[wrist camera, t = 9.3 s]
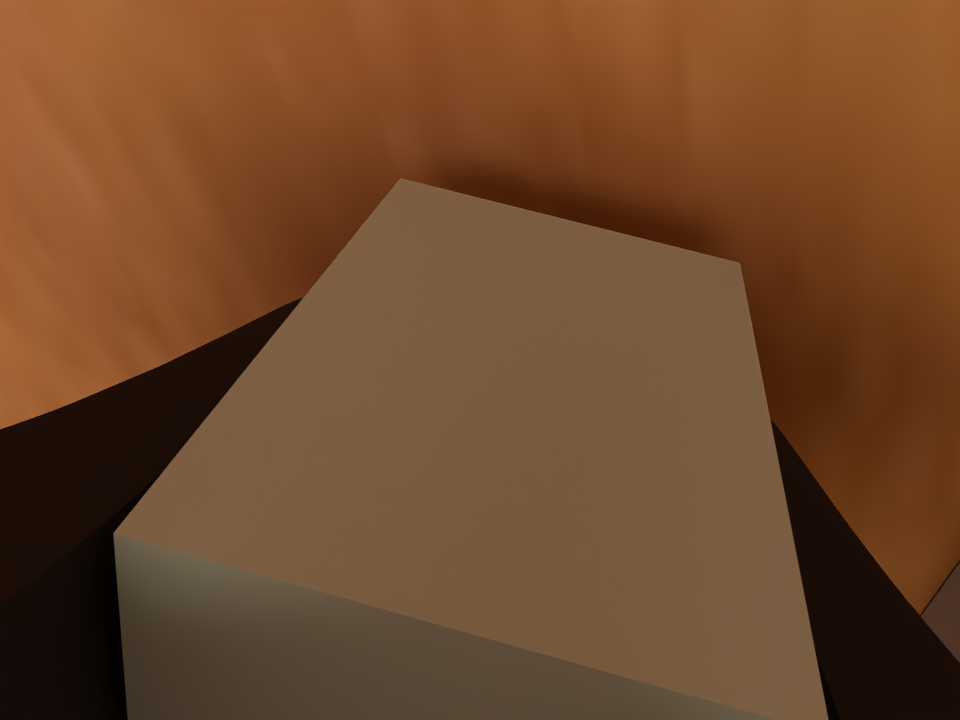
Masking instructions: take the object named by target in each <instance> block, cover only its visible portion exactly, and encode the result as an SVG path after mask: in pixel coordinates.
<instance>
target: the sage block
mask: <svg viewBox="0 0 960 720" xmlns="http://www.w3.org/2000/svg"><path fill="white" fill-rule="evenodd" d="M113 536H114V549H115V562H116V575H117V588H118V600H119V613H120V626H121V639H122V652H123V664H124V677H125V690H126V703H127V716H128V720H828V715H827V710H826V705H825V699H824V694H823V689H822V684H821V679H820V673H819V668H818V663H817V658H816V653H815V648H814V642H813V637H812V632H811V627H810V622H809V617H808V611H807V606H806V601H805V596H804V591H803V586H802V580H801V575H800V570H799V565H798V560H797V555H796V549H795V544H794V539H793V534H792V529H791V524H790V518H789V513H788V508H787V503H786V498H785V493H784V487H783V482H782V477H781V472H780V467H779V462H778V456H777V451H776V446H775V441H774V436H773V431H772V425H771V420H770V415H769V410H768V405H767V400H766V394H765V389H764V384H763V379H762V374H761V369H760V363H759V358H758V353H757V348H756V343H755V338H754V332H753V327H752V322H751V317H750V312H749V307H748V301H747V296H746V291H745V286H744V281H743V275H742V270H741V265H740V263H739V262H735V261H731V260H727V259H723V258H719V257H715V256H711V255H707V254H703V253H699V252H695V251H691V250H687V249H683V248H679V247H675V246H671V245H667V244H663V243H659V242H655V241H651V240H647V239H643V238H639V237H635V236H631V235H627V234H623V233H619V232H615V231H611V230H607V229H603V228H599V227H595V226H591V225H587V224H583V223H579V222H575V221H571V220H567V219H563V218H559V217H555V216H551V215H547V214H543V213H539V212H535V211H530V210H526V209H522V208H518V207H514V206H510V205H506V204H502V203H498V202H494V201H490V200H486V199H482V198H478V197H474V196H470V195H466V194H462V193H458V192H454V191H450V190H446V189H442V188H438V187H434V186H430V185H426V184H422V183H418V182H414V181H410V180H406V179H402V178H400V179H399V180H398V181H397V183H396V184H395V185H394V186H393V188H392V189H391V190H390V191H389V192H388V194H387V195H386V196H385V197H384V199H383V200H382V201H381V202H380V204H379V205H378V206H377V207H376V209H375V210H374V211H373V212H372V214H371V215H370V216H369V217H368V218H367V220H366V221H365V222H364V223H363V225H362V226H361V227H360V228H359V230H358V231H357V232H356V233H355V235H354V236H353V237H352V238H351V240H350V241H349V242H348V243H347V245H346V246H345V247H344V248H343V249H342V251H341V252H340V253H339V254H338V256H337V257H336V258H335V259H334V261H333V262H332V263H331V264H330V266H329V267H328V268H327V269H326V271H325V272H324V273H323V274H322V275H321V277H320V278H319V279H318V280H317V282H316V283H315V284H314V285H313V287H312V288H311V289H310V290H309V292H308V293H307V294H306V295H305V297H304V298H303V299H302V300H301V301H300V303H299V304H298V305H297V306H296V308H295V309H294V310H293V311H292V313H291V314H290V315H289V316H288V318H287V319H286V320H285V321H284V323H283V324H282V325H281V326H280V328H279V329H278V330H277V331H276V332H275V334H274V335H273V336H272V337H271V339H270V340H269V341H268V342H267V344H266V345H265V346H264V347H263V349H262V350H261V351H260V352H259V354H258V355H257V356H256V357H255V358H254V360H253V361H252V362H251V363H250V365H249V366H248V367H247V368H246V370H245V371H244V372H243V373H242V375H241V376H240V377H239V378H238V380H237V381H236V382H235V383H234V385H233V386H232V387H231V388H230V389H229V391H228V392H227V393H226V394H225V396H224V397H223V398H222V399H221V401H220V402H219V403H218V404H217V406H216V407H215V408H214V409H213V411H212V412H211V413H210V414H209V415H208V417H207V418H206V419H205V420H204V422H203V423H202V424H201V425H200V427H199V428H198V429H197V430H196V432H195V433H194V434H193V435H192V437H191V438H190V439H189V440H188V442H187V443H186V444H185V445H184V446H183V448H182V449H181V450H180V451H179V453H178V454H177V455H176V456H175V458H174V459H173V460H172V461H171V463H170V464H169V465H168V466H167V468H166V469H165V470H164V471H163V472H162V474H161V475H160V476H159V477H158V479H157V480H156V481H155V482H154V484H153V485H152V486H151V487H150V489H149V490H148V491H147V492H146V494H145V495H144V496H143V497H142V499H141V500H140V501H139V502H138V503H137V505H136V506H135V507H134V508H133V510H132V511H131V512H130V513H129V515H128V516H127V517H126V518H125V520H124V521H123V522H122V523H121V525H120V526H119V527H118V528H117V529H116V531H115V532H114V533H113Z"/></svg>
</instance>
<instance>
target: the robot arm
mask: <svg viewBox="0 0 960 720" xmlns="http://www.w3.org/2000/svg"><path fill="white" fill-rule="evenodd" d="M302 299H303V298H300V299H298V300H296V301H293V302H291V303H289V304H286V305H284V306H282V307H280V308H278V309H276V310H274V311H272V312H270V313H268V314H266V315H264V316H262V317H260V318H258V319H256V320H254V321H252V322H250V323H248V324H246V325H244V326H242V327H240V328H238V329H236V330H234V331H232V332H230V333H228V334H226V335H224V336H222V337H220V338H218V339H216V340H213V341H211V342H209V343H207V344H205V345H203V346H201V347H199V348H197V349H195V350H193V351H191V352H188V353H186V354H184V355H182V356H180V357H178V358H176V359H174V360H172V361H170V362H168V363H166V364H163V365H161V366H159V367H157V368H154V369H152V370H150V371H147V372H145V373H143V374H140V375H138V376H135V377H133V378H131V379H128V380H126V381H124V382H121V383H119V384H117V385H114V386H112V387H109V388H107V389H105V390H102V391H100V392H98V393H95V394H93V395H91V396H88V397H86V398H83V399H81V400H79V401H76V402H74V403H72V404H69V405H67V406H64V407H61V408H59V409H56V410H53V411H51V412H48V413H46V414H43V415H40V416H37V417H35V418H32V419H29V420H26V421H23V422H21V423H18V424H15V425H12V426H9V427H6V428H3V429H0V720H128V716H127V703H126V690H125V677H124V664H123V652H122V639H121V626H120V613H119V600H118V588H117V575H116V562H115V549H114V536H113V533H114V532H115V531H116V529H117V528H118V527H119V526H120V525H121V523H122V522H123V521H124V520H125V518H126V517H127V516H128V515H129V513H130V512H131V511H132V510H133V508H134V507H135V506H136V505H137V503H138V502H139V501H140V500H141V499H142V497H143V496H144V495H145V494H146V492H147V491H148V490H149V489H150V487H151V486H152V485H153V484H154V482H155V481H156V480H157V479H158V477H159V476H160V475H161V474H162V472H163V471H164V470H165V469H166V468H167V466H168V465H169V464H170V463H171V461H172V460H173V459H174V458H175V456H176V455H177V454H178V453H179V451H180V450H181V449H182V448H183V446H184V445H185V444H186V443H187V442H188V440H189V439H190V438H191V437H192V435H193V434H194V433H195V432H196V430H197V429H198V428H199V427H200V425H201V424H202V423H203V422H204V420H205V419H206V418H207V417H208V415H209V414H210V413H211V412H212V411H213V409H214V408H215V407H216V406H217V404H218V403H219V402H220V401H221V399H222V398H223V397H224V396H225V394H226V393H227V392H228V391H229V389H230V388H231V387H232V386H233V385H234V383H235V382H236V381H237V380H238V378H239V377H240V376H241V375H242V373H243V372H244V371H245V370H246V368H247V367H248V366H249V365H250V363H251V362H252V361H253V360H254V358H255V357H256V356H257V355H258V354H259V352H260V351H261V350H262V349H263V347H264V346H265V345H266V344H267V342H268V341H269V340H270V339H271V337H272V336H273V335H274V334H275V332H276V331H277V330H278V329H279V328H280V326H281V325H282V324H283V323H284V321H285V320H286V319H287V318H288V316H289V315H290V314H291V313H292V311H293V310H294V309H295V308H296V306H297V305H298V304H299V303H300V301H301V300H302ZM770 420H771V419H770ZM771 425H772V431H773V436H774V441H775V446H776V451H777V456H778V462H779V467H780V472H781V477H782V482H783V487H784V493H785V498H786V503H787V508H788V513H789V518H790V524H791V529H792V534H793V539H794V544H795V549H796V555H797V560H798V565H799V570H800V575H801V580H802V586H803V591H804V596H805V601H806V606H807V611H808V617H809V622H810V627H811V632H812V637H813V642H814V648H815V653H816V658H817V663H818V668H819V673H820V679H821V684H822V689H823V694H824V699H825V705H826V710H827V715H828V720H960V662H959V661H958V660H957V659H956V658H955V657H954V656H953V654H952V653H951V652H950V651H949V650H948V648H947V647H946V646H945V645H944V644H943V643H942V641H941V640H940V639H939V638H938V637H937V635H936V634H935V633H934V632H933V631H932V629H931V628H930V627H929V626H928V625H927V624H926V622H925V621H924V620H923V619H922V618H921V616H920V615H919V614H918V613H917V612H916V610H915V609H914V608H913V607H912V606H911V605H910V603H909V602H908V601H907V600H906V599H905V597H904V596H903V595H902V594H901V592H900V591H899V590H898V588H897V587H896V586H895V585H894V583H893V582H892V581H891V580H890V578H889V577H888V576H887V575H886V573H885V572H884V571H883V570H882V568H881V567H880V566H879V564H878V563H877V562H876V561H875V559H874V558H873V557H872V555H871V554H870V553H869V551H868V550H867V549H866V547H865V546H864V545H863V544H862V542H861V541H860V540H859V538H858V537H857V536H856V534H855V533H854V532H853V530H852V529H851V528H850V526H849V525H848V523H847V522H846V521H845V519H844V518H843V517H842V515H841V514H840V513H839V511H838V510H837V508H836V507H835V506H834V504H833V503H832V502H831V500H830V499H829V497H828V496H827V495H826V493H825V492H824V490H823V489H822V488H821V486H820V485H819V483H818V482H817V481H816V479H815V478H814V477H813V475H812V474H811V472H810V471H809V470H808V468H807V467H806V465H805V464H804V463H803V461H802V460H801V458H800V457H799V456H798V454H797V453H796V451H795V450H794V449H793V447H792V446H791V445H790V443H789V442H788V440H787V439H786V438H785V436H784V435H783V434H782V432H781V431H780V430H779V429H778V427H777V426H776V425H775V424H774V422H773V421H772V420H771Z"/></svg>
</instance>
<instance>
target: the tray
mask: <svg viewBox="0 0 960 720" xmlns="http://www.w3.org/2000/svg"><path fill="white" fill-rule="evenodd" d="M921 618H922V619H923V620H924V621H925V622H926V624H927V625H928V626H929V627H930V628H931V629H932V631H933V632H934V633H935V634H936V635H937V637H938V638H939V639H940V640H941V641H942V643H943V644H944V645H945V646H946V647H947V648H948V650H949V651H950V652H951V653H952V654H953V656H954V657H955V658H956V659H957V660H958V661H959V662H960V563H959V564H958V566H957V567H956V568H955V570H954V571H953V573H952V574H951V575H950V577H949V578H948V580H947V581H946V582H945V584H944V585H943V586H942V588H941V589H940V591H939V592H938V593H937V595H936V596H935V598H934V599H933V600H932V602H931V603H930V604H929V606H928V607H927V609H926V610H925V611H924V613H923V614H922V616H921Z"/></svg>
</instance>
